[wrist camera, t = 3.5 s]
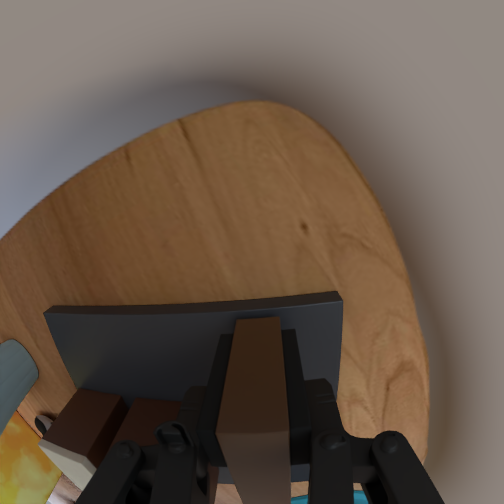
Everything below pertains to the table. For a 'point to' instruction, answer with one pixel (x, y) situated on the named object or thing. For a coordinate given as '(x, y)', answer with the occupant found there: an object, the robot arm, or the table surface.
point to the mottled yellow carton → (24, 465)
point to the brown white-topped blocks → (105, 432)
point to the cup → (14, 378)
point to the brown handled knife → (256, 414)
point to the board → (186, 345)
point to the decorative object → (359, 498)
